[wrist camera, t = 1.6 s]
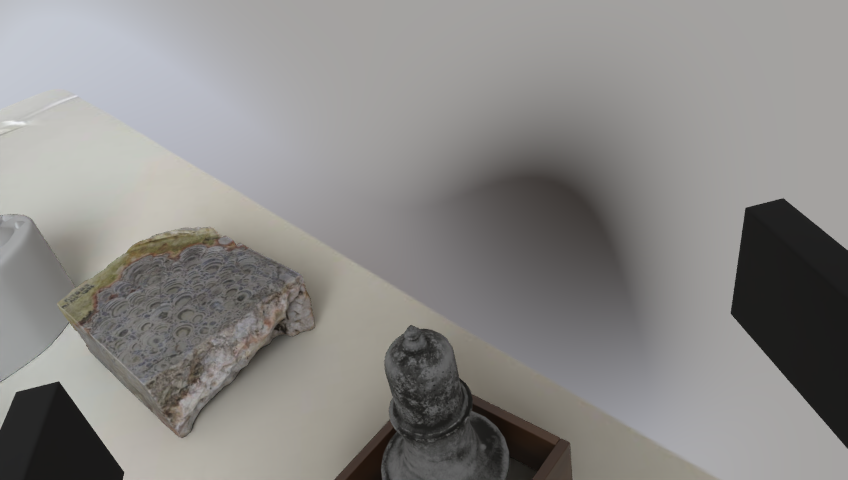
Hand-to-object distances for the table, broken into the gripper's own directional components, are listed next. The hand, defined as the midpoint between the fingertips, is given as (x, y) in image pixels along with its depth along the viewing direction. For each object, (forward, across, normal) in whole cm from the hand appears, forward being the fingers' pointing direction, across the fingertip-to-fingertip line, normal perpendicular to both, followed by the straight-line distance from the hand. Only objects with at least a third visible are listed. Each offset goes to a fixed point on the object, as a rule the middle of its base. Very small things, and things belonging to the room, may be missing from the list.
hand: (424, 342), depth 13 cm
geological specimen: (+26, -14, -20) cm, 36 cm away
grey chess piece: (+10, 0, -20) cm, 22 cm away
